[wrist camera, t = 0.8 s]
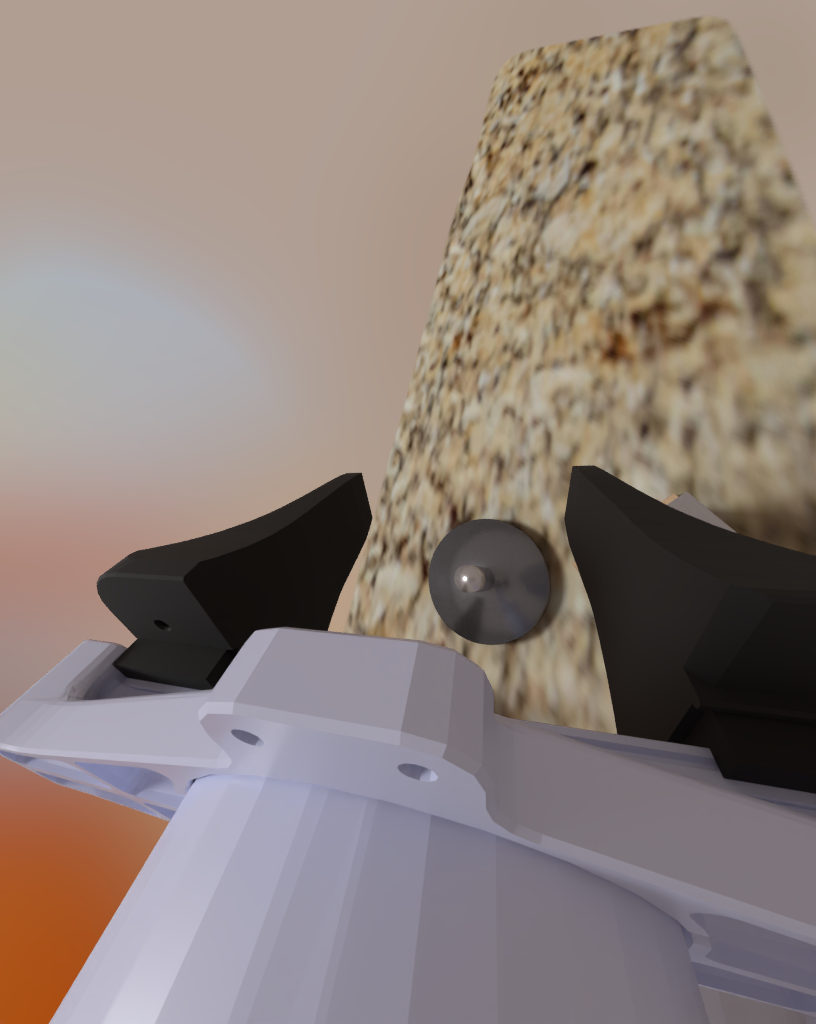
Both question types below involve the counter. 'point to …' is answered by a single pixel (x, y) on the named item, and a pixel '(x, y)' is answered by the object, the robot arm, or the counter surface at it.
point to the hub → (489, 581)
